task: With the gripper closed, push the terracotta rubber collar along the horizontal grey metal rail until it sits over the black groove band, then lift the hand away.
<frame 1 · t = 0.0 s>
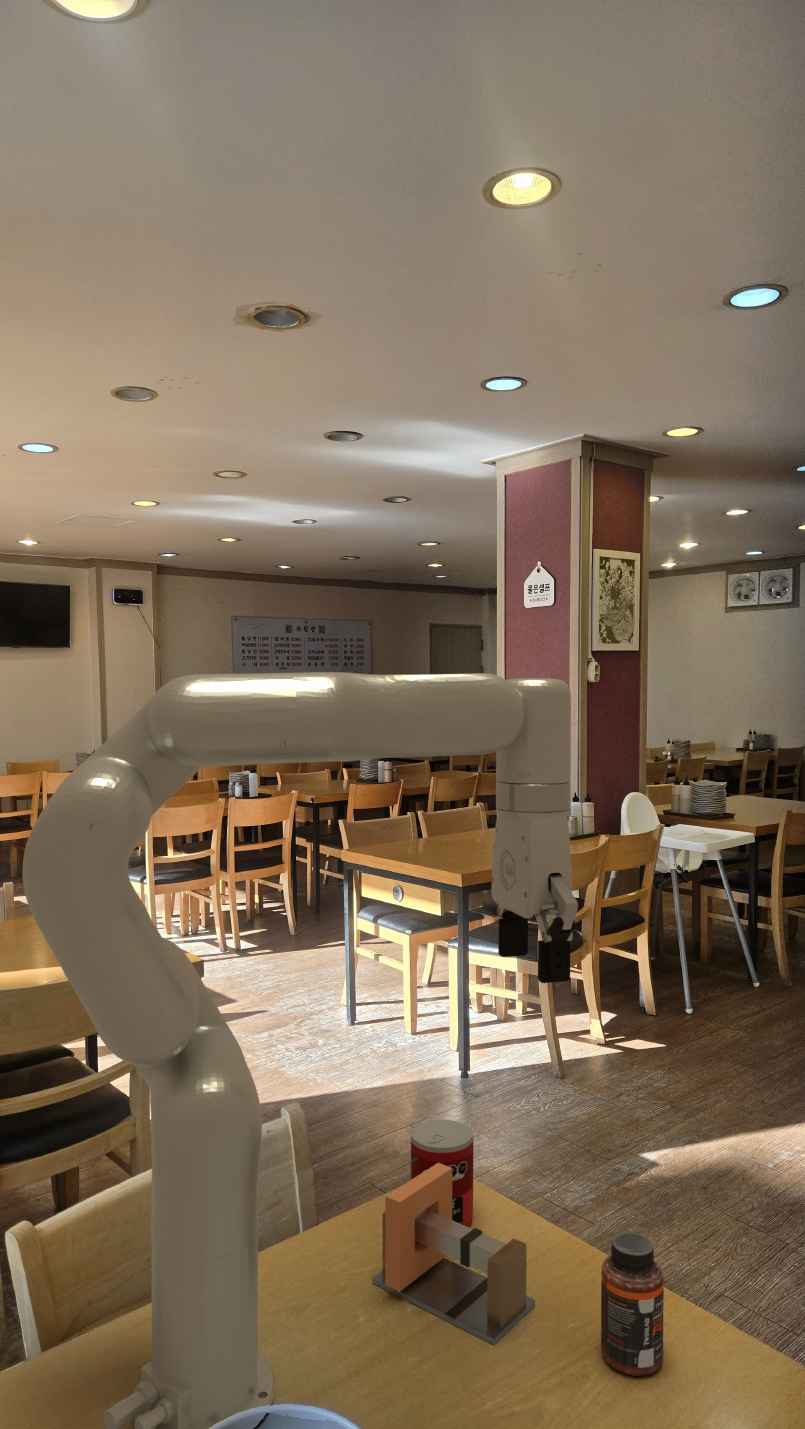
hand: (532, 967, 95), 37 cm above the table, tool pointing down, fingers open, 9 cm apart
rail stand: (452, 1293, 101), on the table
canned food: (441, 1222, 116), on the table
collar: (419, 1224, 104), point 6 cm above the table, slide at 0.0 cm
supplement bottle: (631, 1360, 91), on the table
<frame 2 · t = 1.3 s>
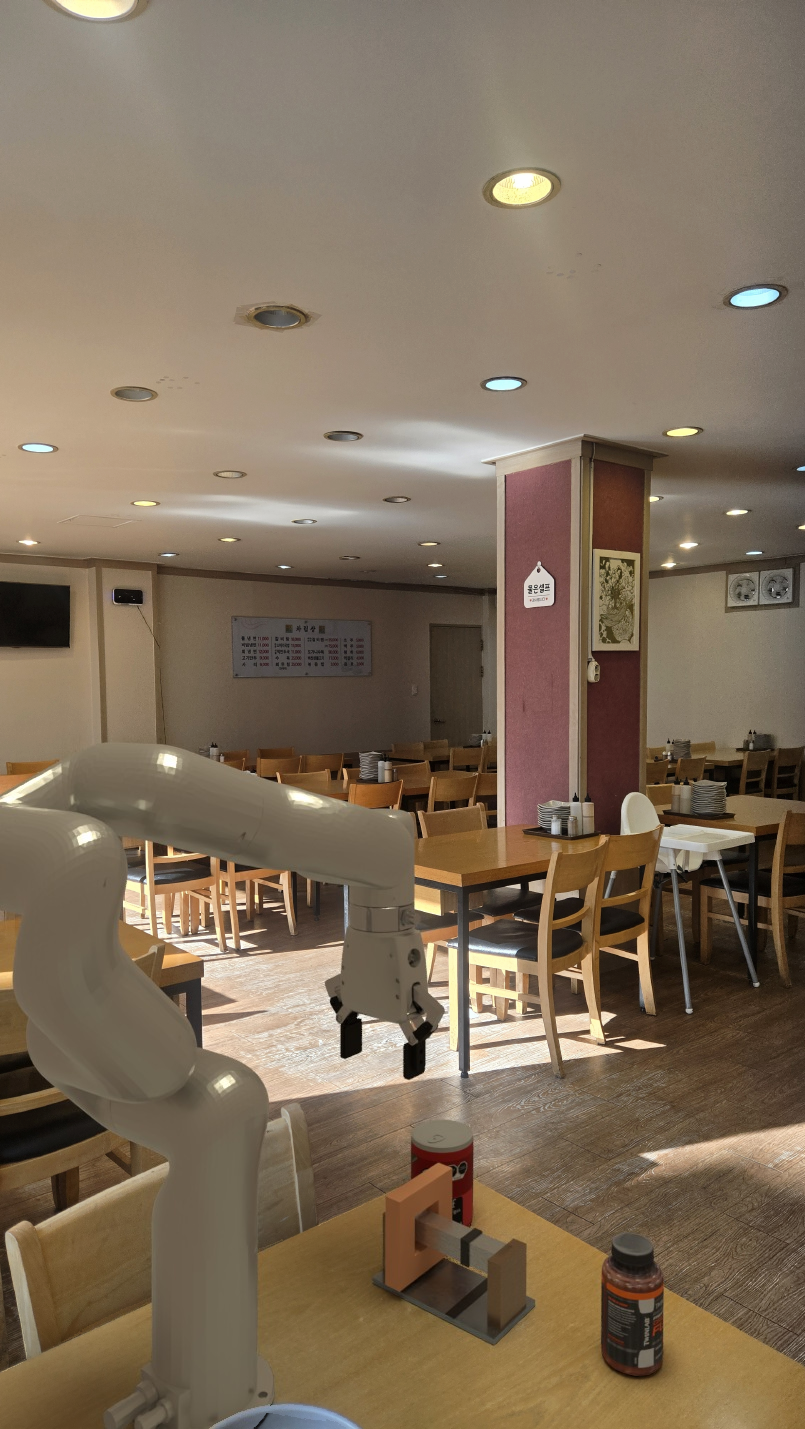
hand: (381, 1065, 107), 22 cm above the table, tool pointing down, fingers open, 9 cm apart
nothing on the table moved.
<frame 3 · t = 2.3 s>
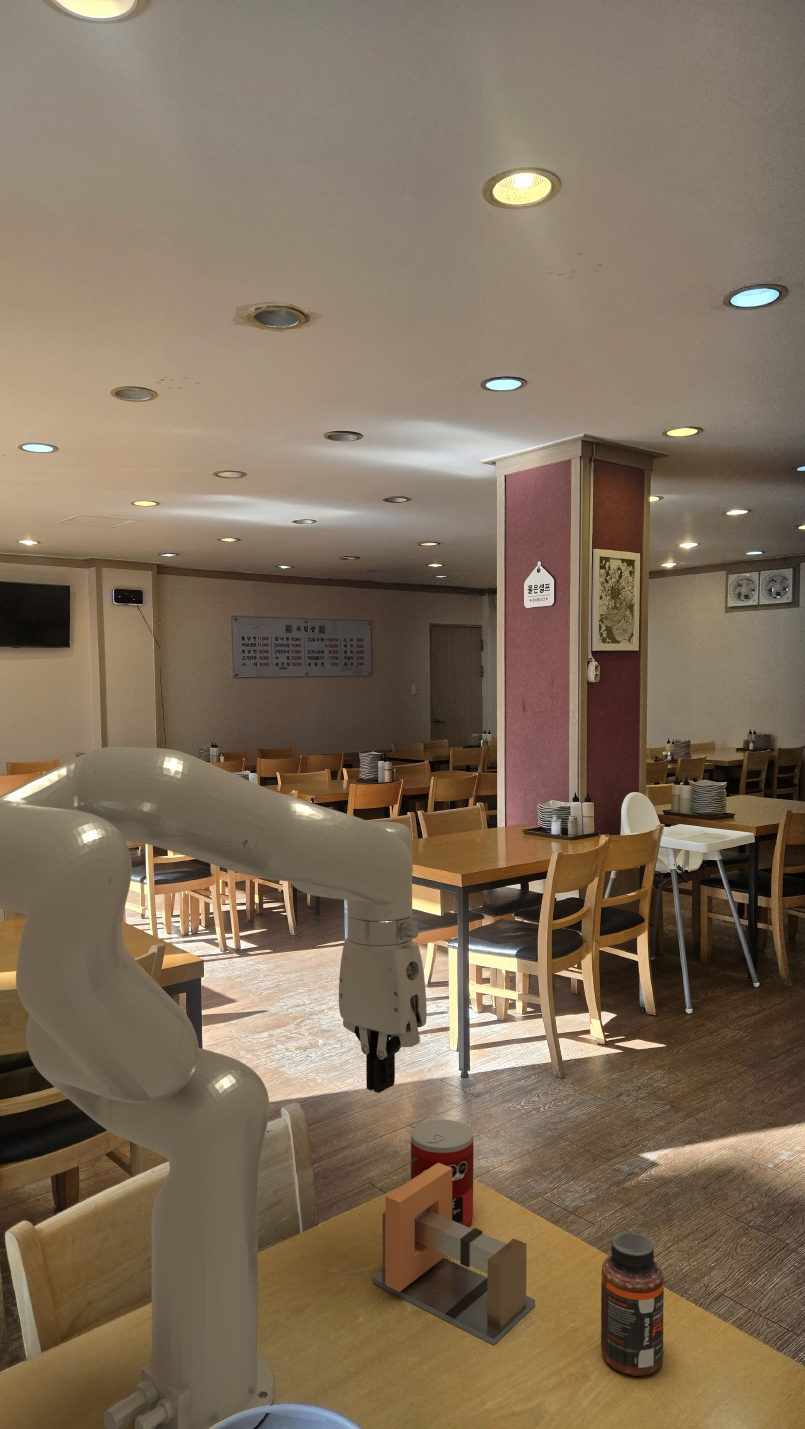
hand: (380, 1087, 108), 20 cm above the table, tool pointing down, fingers closed
nothing on the table moved.
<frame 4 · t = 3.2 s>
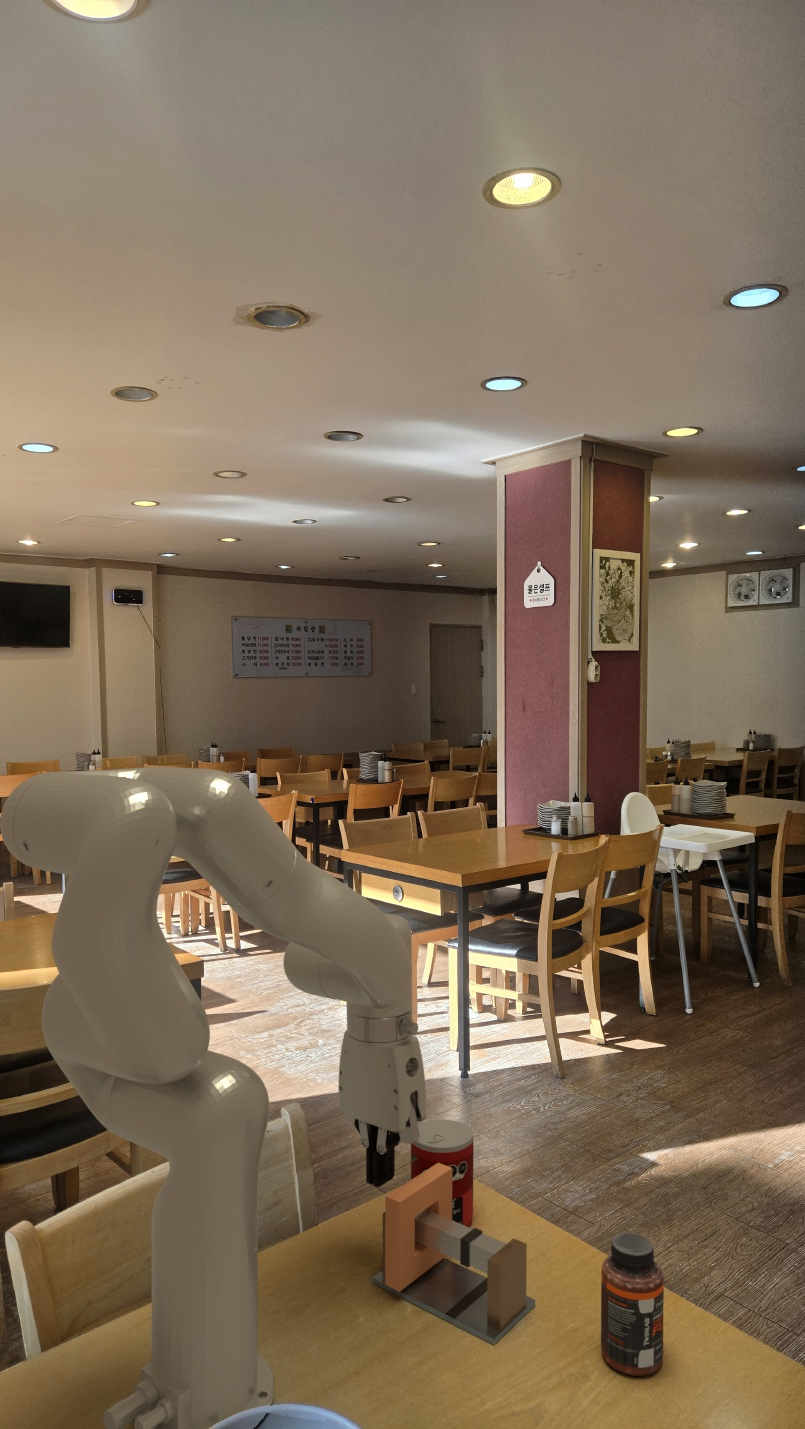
hand: (380, 1180, 108), 9 cm above the table, tool pointing down, fingers closed
nothing on the table moved.
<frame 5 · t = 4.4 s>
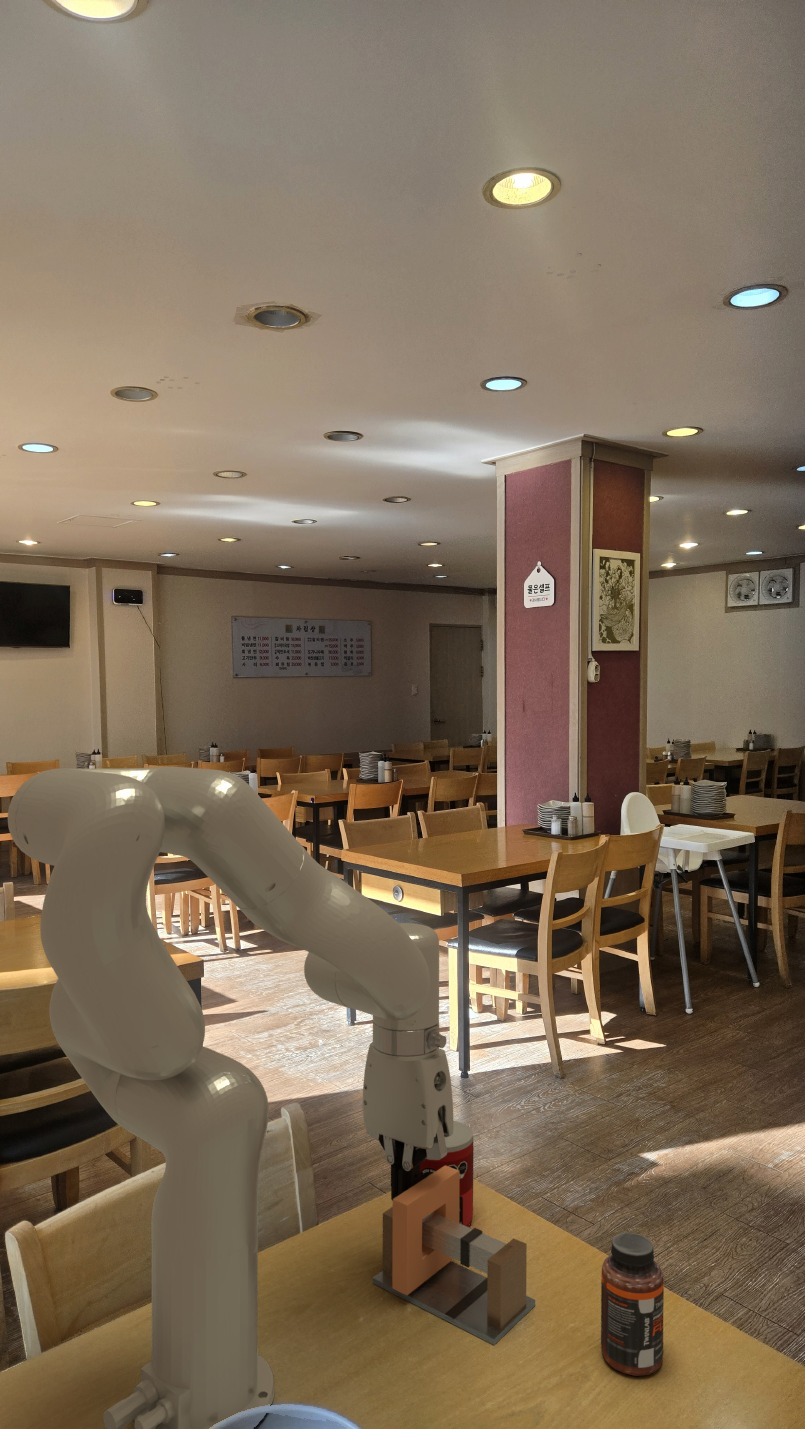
hand: (405, 1197, 105), 8 cm above the table, tool pointing down, fingers closed
collar: (426, 1227, 103), point 6 cm above the table, slide at 1.0 cm, touching gripper
everything else where it was.
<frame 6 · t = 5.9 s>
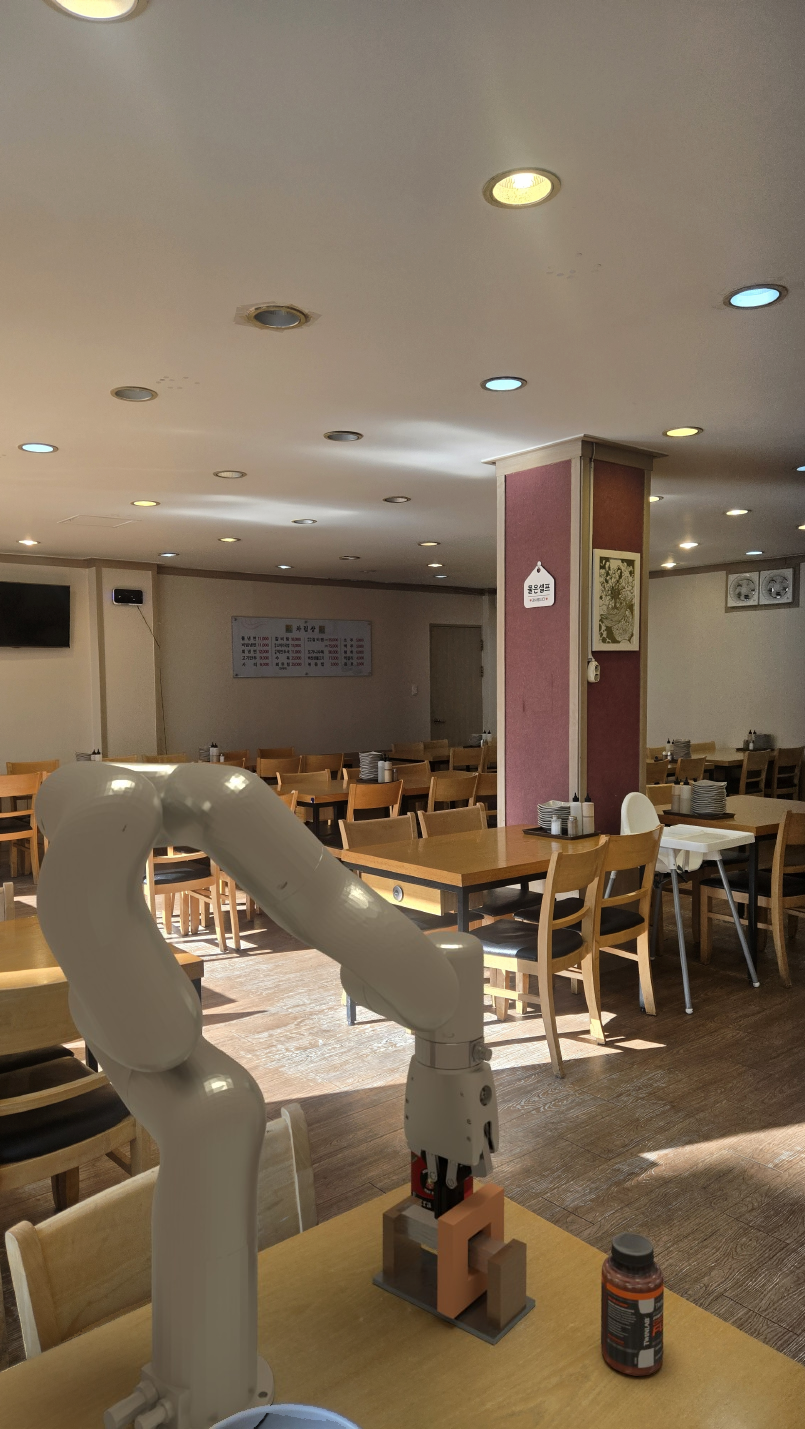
hand: (448, 1215, 101), 8 cm above the table, tool pointing down, fingers closed
collar: (471, 1247, 100), point 6 cm above the table, slide at 7.0 cm, touching gripper
everything else where it was.
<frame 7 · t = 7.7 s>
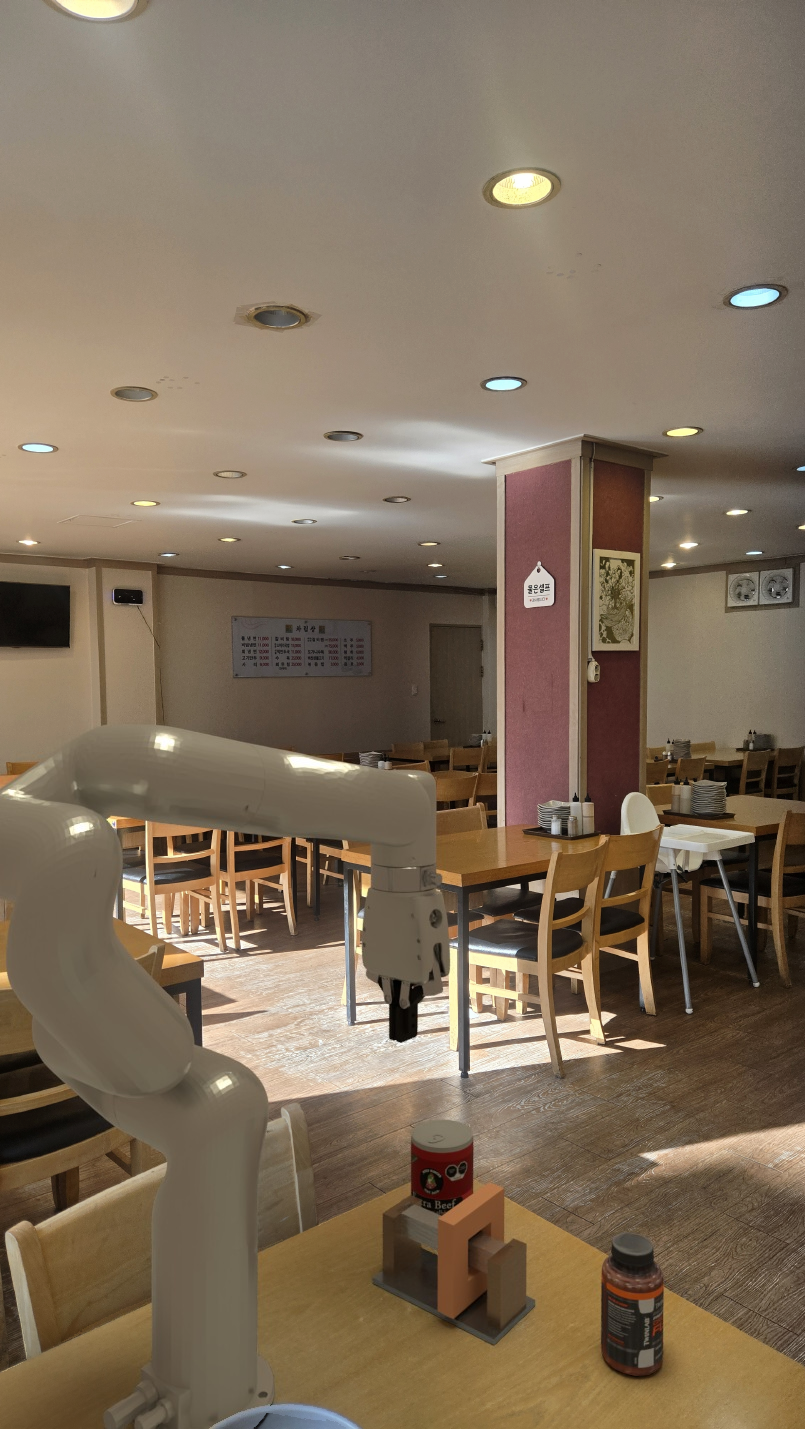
hand: (403, 1037, 107), 26 cm above the table, tool pointing down, fingers closed
collar: (472, 1247, 99), point 6 cm above the table, slide at 7.1 cm
everything else where it was.
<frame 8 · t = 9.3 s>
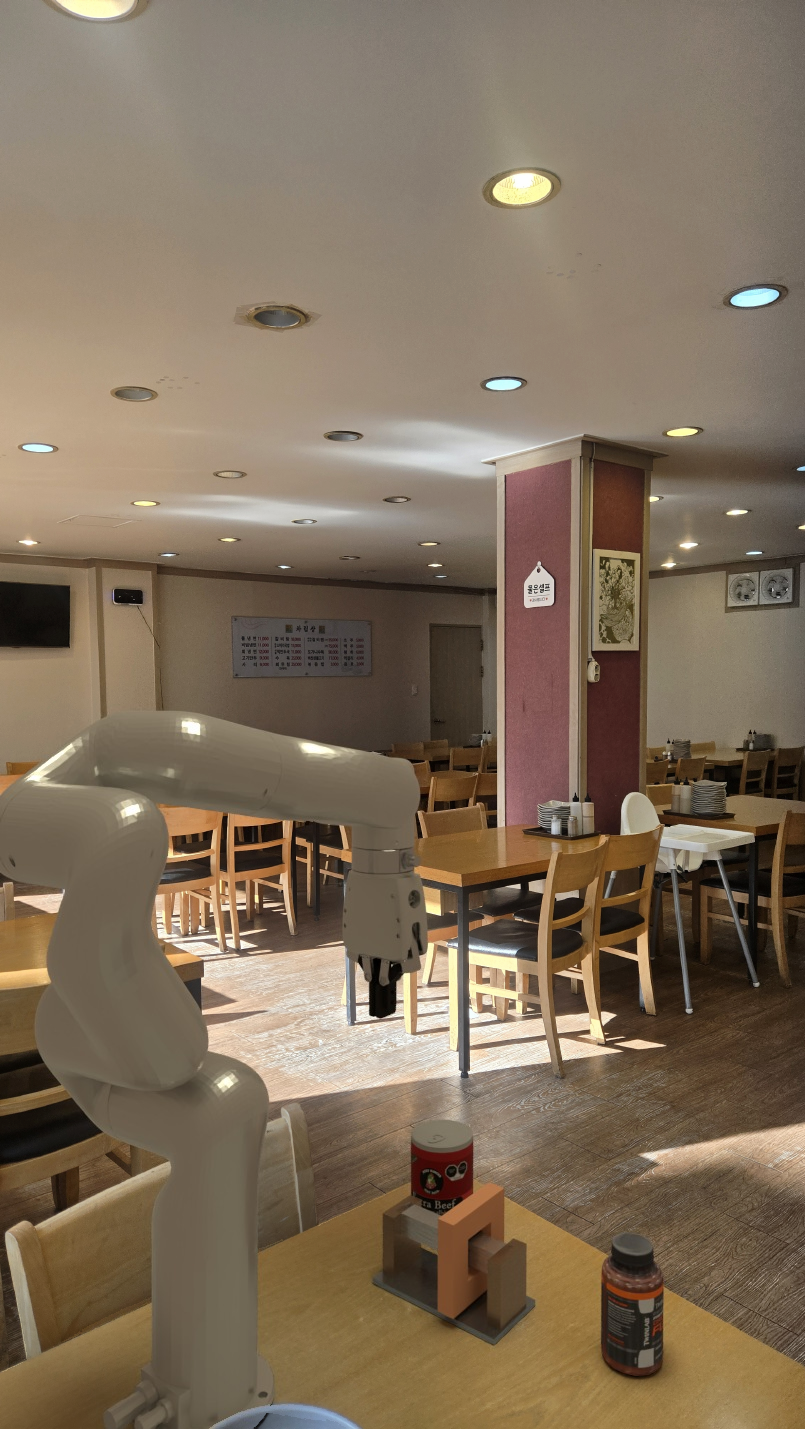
hand: (382, 1014, 111), 27 cm above the table, tool pointing down, fingers closed
nothing on the table moved.
at the end: collar slide at 7.1 cm; collar touching nothing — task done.
